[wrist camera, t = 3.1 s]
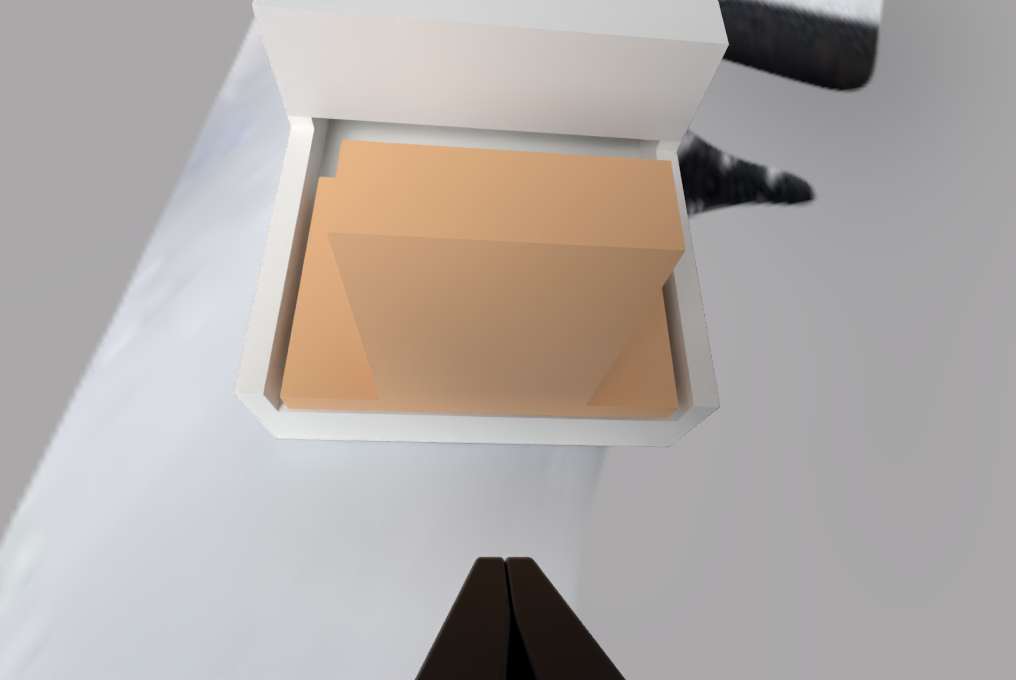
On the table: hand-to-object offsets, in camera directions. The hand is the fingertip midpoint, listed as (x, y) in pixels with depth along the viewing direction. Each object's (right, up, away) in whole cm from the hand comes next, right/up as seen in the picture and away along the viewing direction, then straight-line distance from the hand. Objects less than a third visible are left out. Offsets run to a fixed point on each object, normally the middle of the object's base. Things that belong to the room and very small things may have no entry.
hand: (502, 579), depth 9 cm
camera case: (-1, +10, +17) cm, 19 cm away
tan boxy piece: (-1, +5, +11) cm, 12 cm away
